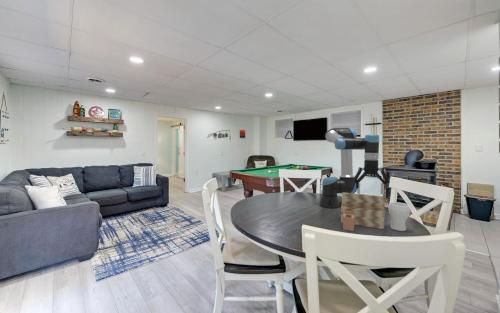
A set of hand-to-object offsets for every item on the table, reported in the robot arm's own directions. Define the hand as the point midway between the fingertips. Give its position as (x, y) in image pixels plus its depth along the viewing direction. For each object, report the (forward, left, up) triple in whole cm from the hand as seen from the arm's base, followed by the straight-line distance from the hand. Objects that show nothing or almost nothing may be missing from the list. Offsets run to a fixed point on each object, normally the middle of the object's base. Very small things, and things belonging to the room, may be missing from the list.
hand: (370, 193), depth 132 cm
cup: (+11, +12, -21) cm, 26 cm away
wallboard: (-4, -1, -21) cm, 21 cm away
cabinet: (-5, -13, -21) cm, 25 cm away
